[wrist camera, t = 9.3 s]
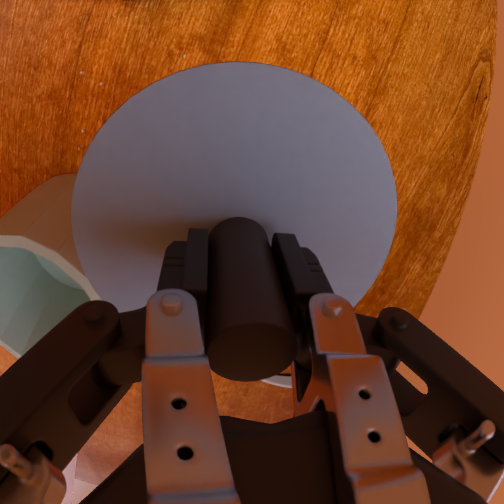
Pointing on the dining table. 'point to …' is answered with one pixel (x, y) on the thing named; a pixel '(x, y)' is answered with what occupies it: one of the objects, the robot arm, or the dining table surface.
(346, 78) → the dining table surface
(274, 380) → the knife
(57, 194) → the processor bowl
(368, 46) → the dining table surface
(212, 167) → the lid
